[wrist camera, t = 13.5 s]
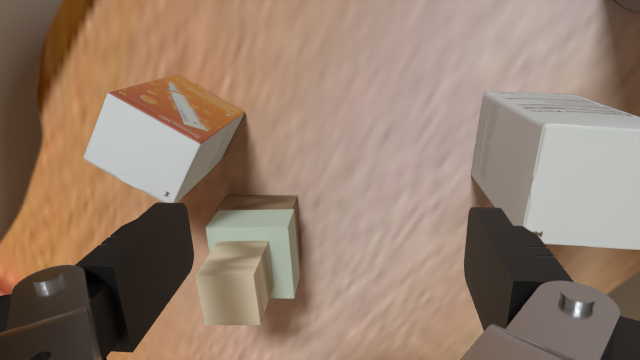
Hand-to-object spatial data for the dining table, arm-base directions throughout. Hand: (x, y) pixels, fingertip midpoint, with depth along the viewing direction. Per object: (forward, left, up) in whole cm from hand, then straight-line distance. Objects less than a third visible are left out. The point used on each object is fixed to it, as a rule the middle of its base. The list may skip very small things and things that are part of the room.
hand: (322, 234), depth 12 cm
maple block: (+10, +17, -25) cm, 31 cm away
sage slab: (+10, +17, -29) cm, 35 cm away
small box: (+16, +4, -33) cm, 37 cm away
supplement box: (-17, +6, -33) cm, 37 cm away
